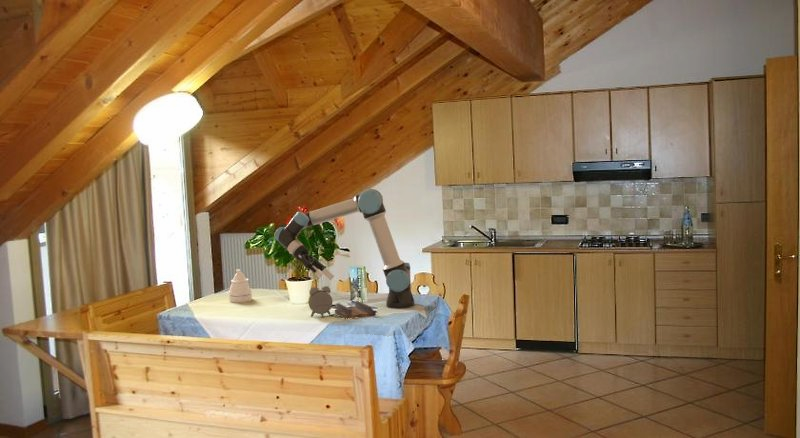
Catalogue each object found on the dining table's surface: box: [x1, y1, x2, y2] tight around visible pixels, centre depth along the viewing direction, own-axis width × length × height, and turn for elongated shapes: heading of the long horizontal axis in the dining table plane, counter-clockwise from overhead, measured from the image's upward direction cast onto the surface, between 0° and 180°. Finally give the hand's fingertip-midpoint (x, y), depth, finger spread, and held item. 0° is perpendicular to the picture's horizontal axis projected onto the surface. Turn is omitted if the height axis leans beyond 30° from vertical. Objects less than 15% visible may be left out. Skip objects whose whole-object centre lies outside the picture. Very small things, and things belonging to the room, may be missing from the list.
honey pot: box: [228, 269, 253, 303], centre depth 398 cm, size 13×13×18 cm
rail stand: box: [334, 300, 374, 320], centre depth 350 cm, size 14×18×4 cm
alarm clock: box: [308, 285, 334, 318], centre depth 346 cm, size 12×7×15 cm, turn 108°
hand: (326, 277), depth 343 cm, fingers open, 13 cm apart
